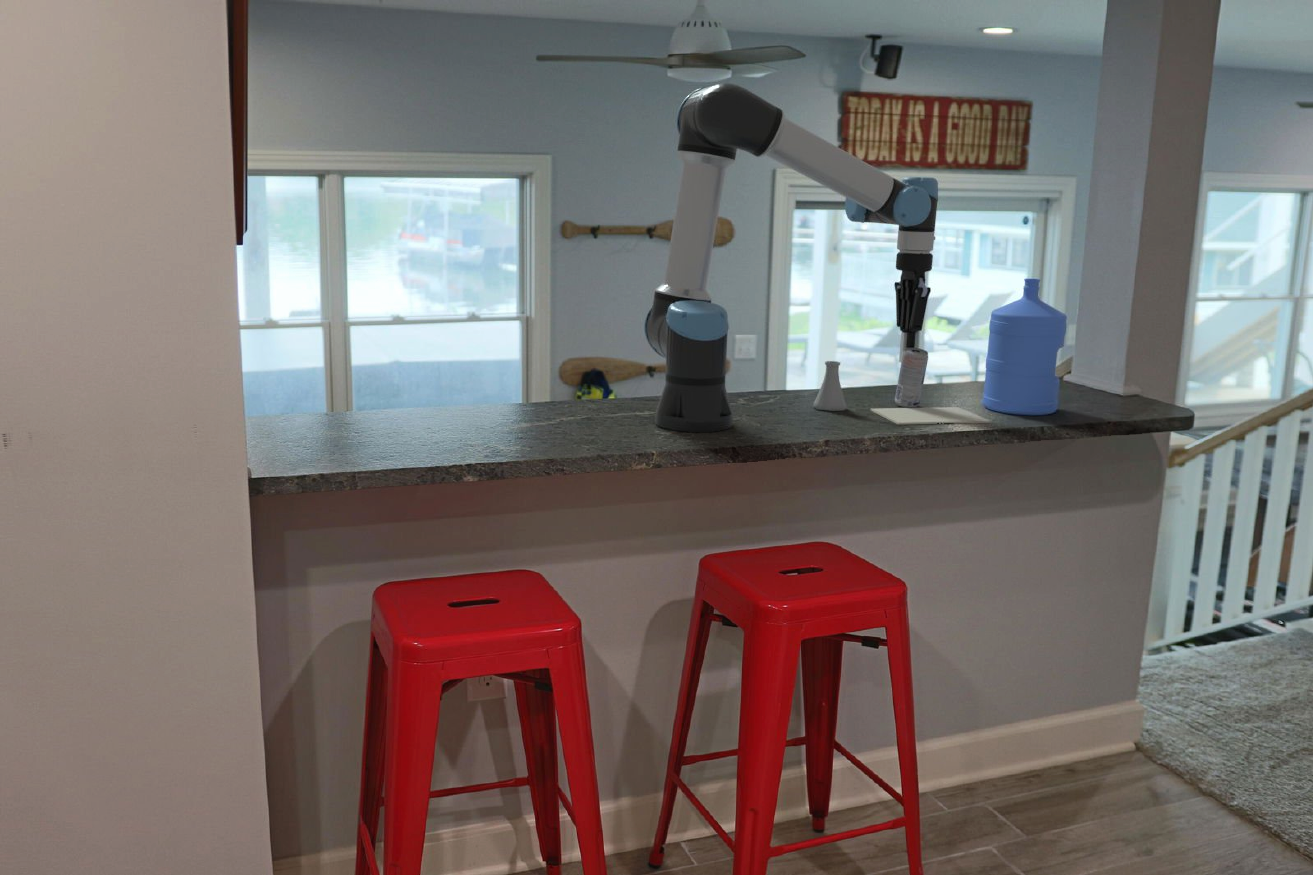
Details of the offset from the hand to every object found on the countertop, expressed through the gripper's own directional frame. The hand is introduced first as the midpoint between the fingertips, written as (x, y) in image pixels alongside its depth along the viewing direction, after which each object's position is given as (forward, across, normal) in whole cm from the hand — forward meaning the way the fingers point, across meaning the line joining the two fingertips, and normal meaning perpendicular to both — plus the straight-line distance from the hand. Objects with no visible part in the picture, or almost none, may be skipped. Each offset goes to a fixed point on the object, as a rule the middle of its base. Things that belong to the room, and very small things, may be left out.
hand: (906, 361), depth 239 cm
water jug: (+10, -7, -24) cm, 27 cm away
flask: (+10, -3, +18) cm, 21 cm away
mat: (+9, -13, 0) cm, 16 cm away
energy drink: (+9, -2, 0) cm, 9 cm away
